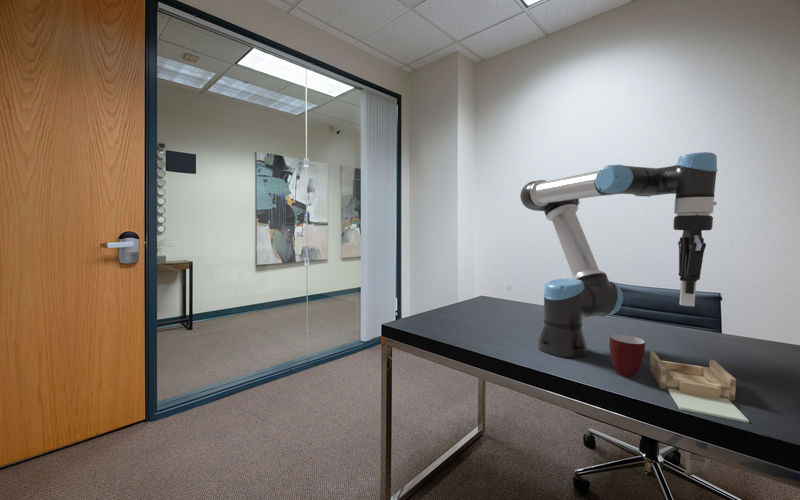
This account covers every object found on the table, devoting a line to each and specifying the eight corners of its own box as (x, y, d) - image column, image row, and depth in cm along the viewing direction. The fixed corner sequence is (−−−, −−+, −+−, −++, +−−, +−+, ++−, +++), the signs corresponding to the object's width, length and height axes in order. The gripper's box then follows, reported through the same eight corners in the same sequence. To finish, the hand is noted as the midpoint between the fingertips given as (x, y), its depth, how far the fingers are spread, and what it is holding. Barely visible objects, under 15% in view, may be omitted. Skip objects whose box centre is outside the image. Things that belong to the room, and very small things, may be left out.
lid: (680, 411, 73) (680, 395, 73) (667, 392, 82) (668, 377, 82) (748, 425, 68) (749, 408, 68) (727, 403, 77) (728, 387, 77)
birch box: (660, 387, 84) (661, 367, 83) (649, 368, 95) (650, 351, 95) (734, 401, 77) (736, 379, 77) (713, 379, 89) (714, 360, 88)
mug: (600, 363, 99) (602, 331, 98) (631, 366, 97) (633, 333, 96) (614, 379, 88) (616, 342, 88) (649, 382, 86) (651, 345, 86)
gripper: (722, 213, 77) (715, 312, 79) (703, 215, 88) (697, 302, 90) (681, 214, 81) (675, 308, 82) (668, 216, 92) (662, 299, 94)
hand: (686, 305), depth 86 cm, fingers closed
